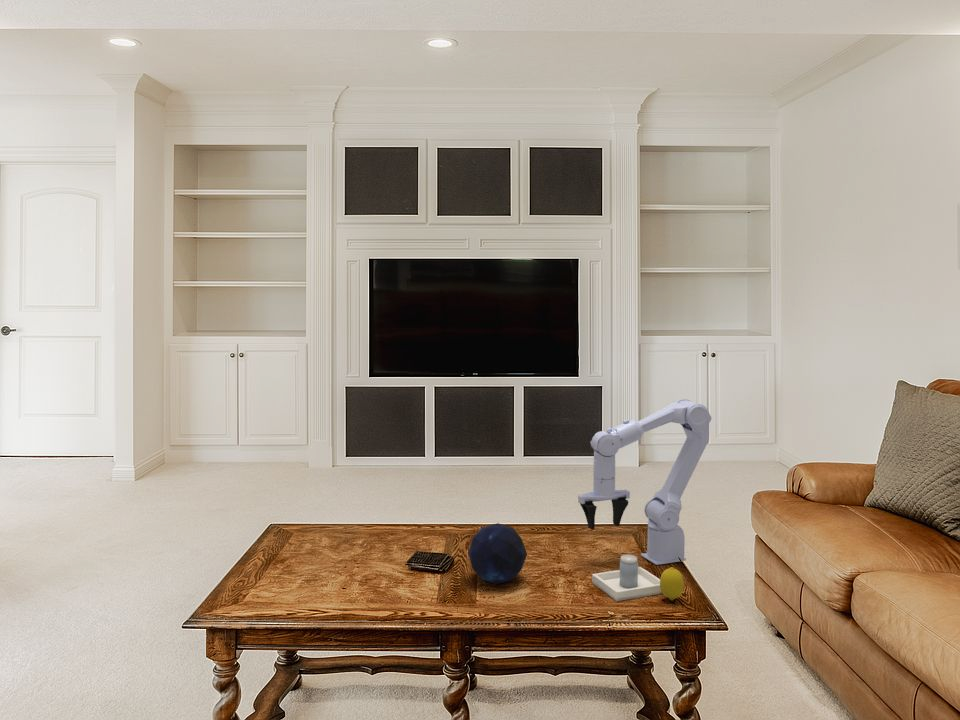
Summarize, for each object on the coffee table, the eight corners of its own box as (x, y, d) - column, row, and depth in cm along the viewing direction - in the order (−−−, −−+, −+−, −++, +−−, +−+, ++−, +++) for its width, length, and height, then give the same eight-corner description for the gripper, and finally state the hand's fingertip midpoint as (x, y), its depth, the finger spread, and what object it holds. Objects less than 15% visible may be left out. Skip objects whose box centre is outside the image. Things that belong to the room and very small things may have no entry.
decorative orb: (473, 576, 177) (507, 522, 180) (448, 556, 190) (480, 506, 193) (515, 603, 183) (547, 550, 185) (488, 581, 196) (519, 532, 199)
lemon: (679, 606, 172) (680, 573, 171) (656, 601, 175) (656, 568, 174) (686, 598, 177) (687, 565, 176) (663, 593, 180) (664, 561, 179)
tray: (640, 575, 191) (640, 566, 191) (667, 592, 180) (667, 583, 180) (591, 582, 187) (591, 574, 186) (616, 601, 175) (616, 592, 175)
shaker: (630, 580, 186) (631, 553, 186) (641, 586, 182) (641, 559, 182) (615, 583, 185) (616, 555, 184) (626, 589, 181) (626, 561, 180)
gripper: (620, 471, 204) (619, 519, 205) (573, 476, 199) (572, 525, 200) (634, 477, 197) (633, 527, 199) (585, 482, 192) (585, 533, 194)
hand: (603, 526), depth 199 cm, fingers open, 7 cm apart
